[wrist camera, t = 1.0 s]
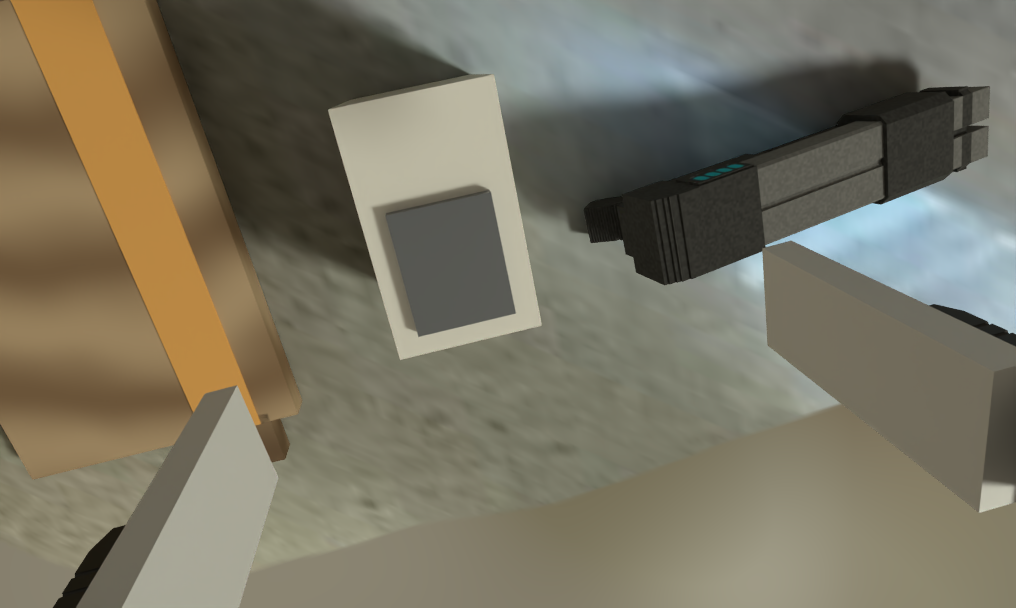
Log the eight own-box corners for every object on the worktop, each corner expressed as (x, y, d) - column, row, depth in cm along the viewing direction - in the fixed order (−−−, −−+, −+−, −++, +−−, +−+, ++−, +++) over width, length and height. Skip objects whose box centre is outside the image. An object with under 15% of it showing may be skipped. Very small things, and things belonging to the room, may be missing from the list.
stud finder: (349, 99, 30) (326, 110, 21) (470, 74, 31) (495, 74, 22) (401, 289, 34) (400, 364, 25) (509, 264, 34) (544, 329, 26)
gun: (564, 186, 33) (703, 202, 24) (817, 90, 40) (993, 76, 32) (581, 265, 35) (717, 305, 26) (821, 158, 42) (989, 163, 33)
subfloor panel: (-232, -34, 25) (-272, -41, 24) (120, -99, 26) (103, -109, 25) (68, 499, 35) (53, 518, 34) (315, 437, 36) (311, 453, 35)
